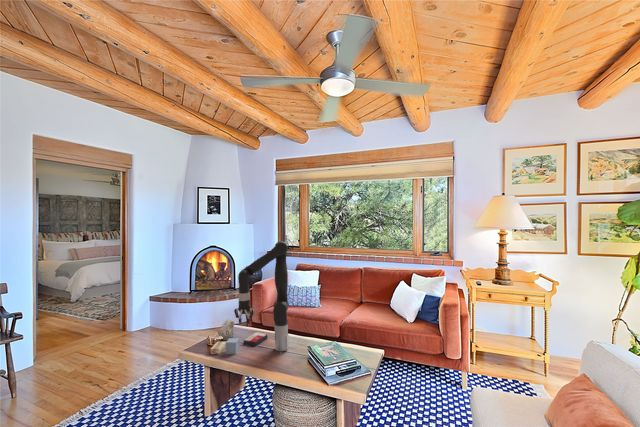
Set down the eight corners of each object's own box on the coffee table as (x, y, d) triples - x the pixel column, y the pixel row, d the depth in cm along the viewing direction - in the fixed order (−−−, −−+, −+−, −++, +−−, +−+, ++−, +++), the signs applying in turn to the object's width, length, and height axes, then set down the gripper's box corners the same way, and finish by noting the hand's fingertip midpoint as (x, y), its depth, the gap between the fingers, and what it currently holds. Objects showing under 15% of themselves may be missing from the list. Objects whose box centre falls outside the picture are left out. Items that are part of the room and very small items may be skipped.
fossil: (222, 341, 219) (226, 320, 223) (212, 339, 222) (217, 318, 227) (235, 340, 232) (239, 320, 237) (226, 338, 236) (230, 318, 241)
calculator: (243, 339, 219) (255, 331, 232) (243, 345, 219) (255, 336, 232) (255, 341, 214) (267, 333, 228) (255, 347, 214) (267, 339, 228)
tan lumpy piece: (225, 346, 215) (225, 341, 215) (219, 354, 203) (219, 348, 203) (217, 346, 215) (217, 341, 215) (210, 353, 203) (210, 348, 203)
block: (239, 349, 209) (239, 338, 209) (235, 354, 202) (235, 342, 202) (229, 349, 210) (229, 338, 210) (225, 354, 203) (225, 342, 203)
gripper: (255, 297, 210) (256, 321, 209) (235, 297, 210) (236, 321, 210) (252, 300, 202) (253, 325, 202) (232, 300, 203) (232, 325, 203)
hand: (244, 323), depth 206 cm, fingers open, 5 cm apart
